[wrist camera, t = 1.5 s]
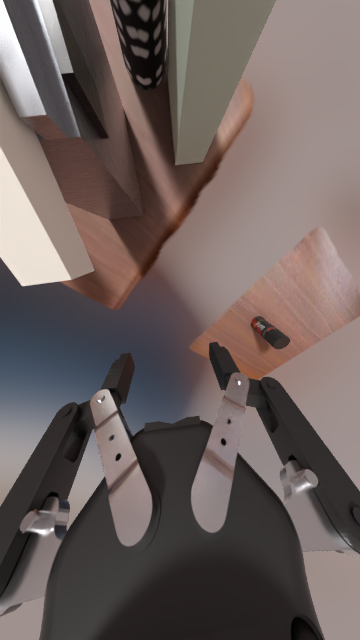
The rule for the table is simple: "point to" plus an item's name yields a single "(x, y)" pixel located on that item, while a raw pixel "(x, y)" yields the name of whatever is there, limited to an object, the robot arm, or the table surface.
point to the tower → (70, 102)
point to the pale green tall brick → (207, 65)
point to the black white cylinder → (142, 39)
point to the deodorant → (270, 333)
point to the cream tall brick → (34, 208)
